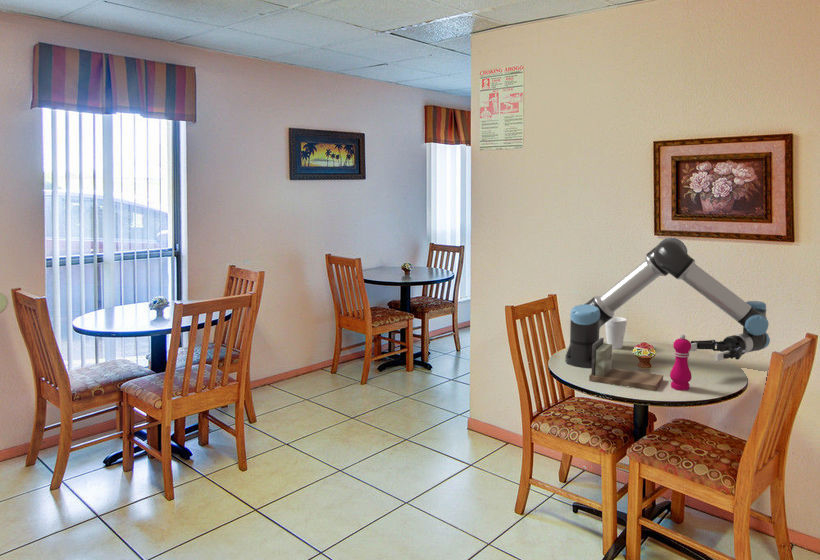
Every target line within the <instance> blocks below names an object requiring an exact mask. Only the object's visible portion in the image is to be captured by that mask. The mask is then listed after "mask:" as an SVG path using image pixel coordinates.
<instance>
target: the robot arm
mask: <svg viewBox="0 0 820 560" xmlns="http://www.w3.org/2000/svg"><path fill="white" fill-rule="evenodd" d="M668 275H671V276H672V277H674V278H675V279H676V280H682V281H684V283H686V284H687V285H689V286H690V287H691V288H693V289H694V290H695V291H696V292H697V293H700V295H702V296H703V297H704V298H706V299H707V300H709V302H711V303H713V305H715V306H716V307H717V308H719V309H720V310H721V311H723V312H724V313H725V314H726V315H728V316H730V317H731V318H732V319H734V320H735V321H736V322H737V323H738V324H740V325H741V327H742V333H737V334H735V335H734V334H733V335H728V336H726V337H724V339H723V340H720V341H716V339H709V340H706V339H705V340H690V343H691V349H690V351H689V353H691V352H696V351H697V350H712V351H714V352H717V353H715V357H714V359H715V360H714V361H716V362H720V361H724V360H728V359H732V360H733V359H734V358H735V360H740V359H741V357H742V356H743V355H745V354H747V353H751V352H756V351H757V352H758V351H761V350H764V349H766V348H767V347H768V346H769V345H770V342H771V339H770V338H771V337H770V336H769V333H767V332H768V331H767V330H768V329H769V325H770V324H769V321H768V318H767V316H766V315H767V304H766V303H765V302H763V301H759V300H750V301H749V300H748V301H745V300H744V299H743V298H741V297H740V296H739V295H737V294H735V292H733V291H732V290H730V289H729V288H728V287H726V286H725V285H723V283H721V282H719V281H718V280H717V279H715V277H713V276H711V274H709V273H708V272H707V271H705V270H704V269H703V268H701V267H699V265H697V264H696V260H695V259H694V258H693V257H692V256H690V255H689V254H688V248H687V246H686V244H685V243H684V242H683V241H682V240H681V239H678V238H676V237H668V238H664V239H663V240H661V241H660V242H659V243H658V244H657V245H656V246H655V247H654V248H652V249H651V250H650V251H648V253H646V254H645V260H644V261H642V262H641V263H640V264H639V265H637V266H636V267H635V268H633V269H632V270H631V271H630V272H628V274H626V275H625V276H624V277H623V278H621V279H619V281H617V282H616V283H615V284H614V285H613V286H611V287H610V288H609V289H608V290H607V291H605V292H604V293H603V294H602V295H594V296H593V297H592V298H591V299H590V300H589V301H587V302H586V303H584V304H578V305H575V306H573V307H571V309H570V315H569V316H570V317H569V319H570V324H569V326H570V327H569V329H570V330H569V333H570V334H569V335H570V337H569V345H568V348H567V351H566V354H565V361H564V362H566V364H568V365H571V366H573V365H574V367H580V368H581V367H582V368H592V345H593V344H594V343H595V342H596V341H598V340H599V339H600V329H601V328H602V327H603V326H605V323H606V322H608V321H609V320H610V319H611V318H613V317H615V312H616V311H617V310H619V308H621V307H622V306H623V305H625V304H626V303H627V302H629V300H631V299H632V298H634V297H635V296H636V295H638V293H641V291H642V290H643V289H645V288H646V287H647V286H649V285H650V284H651V283H653V282H654V281H655V280H656V279H657V278H659V277H666V276H668Z"/></svg>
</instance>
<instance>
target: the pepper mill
mask: <svg viewBox="0 0 820 560" xmlns="http://www.w3.org/2000/svg"><path fill="white" fill-rule="evenodd" d="M672 345H673V347H672V348H673V349H674V356H675V360H674V361H675V362H674V364H673V366H672V368H671V370H670V374H669V378H670V379H671V382H670V388H671V389H674V390H676V391H689V390H690V386H691V385H690V383H689V382H691V380H692V372H691V369H690V367H689V364H688V363H689V362H688V360H689V357H690V352H691V351H690V349H691V340H688V339H686V335H685V334H681V335H680V336H679V338H676V339H675V341H674V342H673V344H672ZM689 351H690V352H689Z"/></svg>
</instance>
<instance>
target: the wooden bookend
mask: <svg viewBox="0 0 820 560" xmlns="http://www.w3.org/2000/svg"><path fill="white" fill-rule="evenodd" d="M604 340H605V338H604V337H599V340H598V341H596V342H595V343H594V344H593V345H592V367H591V371H590V374H589V377H588V378H589V379H588V381H590V382H594V383H595V382H596V383H600V384H608V385H613V384H615V385H614V386H620V385H622V386H621V387H626V386H629V387H628V388H633V387H634V388H633V389H639V388H640V389H639V390H646V391H647V390H648V391H652V392H654V391H655V392H656V391H657V389H658V388H659V387H660V386H661V384H662V382H664V375H663V374H657V373H651V372H650V373H649V372H644V371H638V370H637V371H635V370H629V369H621V368H614V367H612V366H613V365H612V363H613V359H612V357H613V349H612V344H607V342H606V343H604V342H605V341H604Z"/></svg>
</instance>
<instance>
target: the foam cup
mask: <svg viewBox="0 0 820 560" xmlns="http://www.w3.org/2000/svg"><path fill="white" fill-rule="evenodd" d="M627 325H628V320H627V318H625V317H620V316H619V317H618V316H614V317H613V318H611V319H610V320H609V321H608V322H606V323H605V324H604V327H605V337H606V338H605V339H606V344H612V350H621V349H622V348H623V345H624V339H625V333H626V328H627Z"/></svg>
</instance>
